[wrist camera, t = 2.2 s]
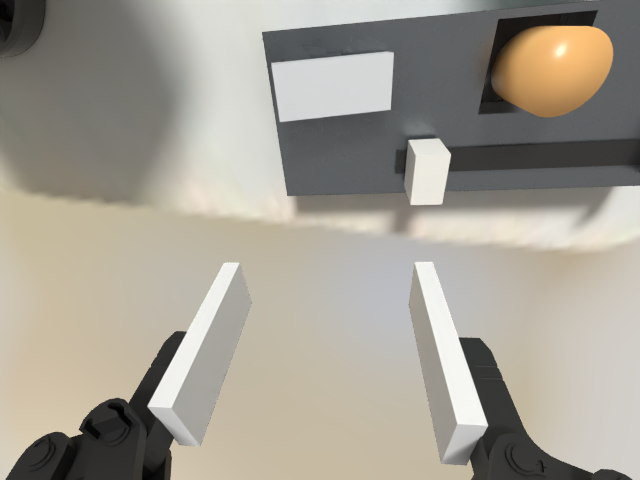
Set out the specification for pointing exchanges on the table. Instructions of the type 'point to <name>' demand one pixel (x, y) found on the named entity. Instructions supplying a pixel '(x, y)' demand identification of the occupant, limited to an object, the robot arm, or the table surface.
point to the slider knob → (426, 171)
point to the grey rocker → (333, 85)
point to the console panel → (463, 108)
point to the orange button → (552, 68)
